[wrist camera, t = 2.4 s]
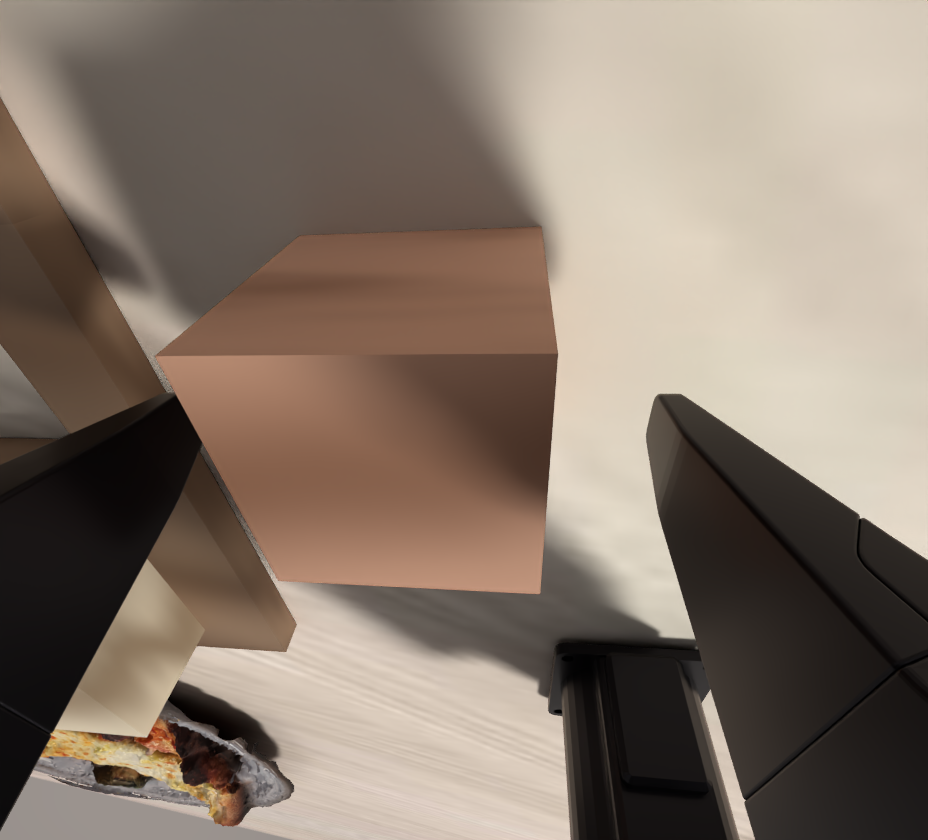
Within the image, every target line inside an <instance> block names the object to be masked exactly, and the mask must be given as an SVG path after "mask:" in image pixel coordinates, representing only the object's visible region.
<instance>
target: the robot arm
mask: <svg viewBox="0 0 928 840" xmlns="http://www.w3.org/2000/svg"><path fill="white" fill-rule="evenodd" d="M646 442H647V448H648V455H649V461H650V467H651V473H652V479H653V485H654V491H655V498H656V503H657V509H658V514H659V518H660V522H661V525H662V529H663V532H664V535H665V539H666V542H667V545H668V549H669V552H670V555H671V559H672V562H673V565H674V569H675V572H676V575H677V579H678V582H679V585H680V589H681V592H682V595H683V599H684V602H685V606H686V609H687V612H688V616H689V619H690V622H691V626H692V629H693V632H694V636H695V639H696V642H697V646H698V649H699V651H690V650H673V649H657V648H641V647H625V646H608V645H592V644H576V643H562V644H558V645H557V646H556V647H555V651H554V658H553V666H552V674H551V682H550V690H549V697H548V711H549V713H551V714H553V715H558V716H563V730H564V745H565V760H566V775H567V790H568V805H569V820H570V835H571V840H740V839H739V835H738V832H737V828H736V825H735V821H734V818H733V814H732V811H731V807H730V803H729V800H728V796H727V793H726V789H725V786H724V782H723V779H722V775H721V772H720V768H719V764H718V761H717V757H716V754H715V750H714V747H713V743H712V740H711V736H710V732H709V729H708V725H707V722H706V718H705V715H704V711H703V708H702V704H701V703H702V701H703V700H704V698H705V697H706V695H707V694H708V692H709V691H710V689H711V692H712V696H713V699H714V702H715V706H716V709H717V712H718V716H719V719H720V722H721V726H722V729H723V732H724V736H725V739H726V742H727V746H728V749H729V752H730V756H731V759H732V762H733V766H734V769H735V772H736V776H737V779H738V782H739V786H740V789H741V792H742V796H743V798H744V799H745V800H746V801H745V807H746V810H747V814H748V817H749V820H750V824H751V827H752V830H753V834H754V837H755V840H928V560H927V559H925V558H924V557H922V556H921V555H919V554H918V553H916V552H915V551H913V550H912V549H910V548H909V547H907V546H905V545H904V544H902V543H901V542H899V541H898V540H896V539H895V538H893V537H892V536H890V535H889V534H887V533H886V532H884V531H883V530H881V529H880V528H878V527H877V526H876V525H874V524H873V523H871V522H870V521H868V520H867V519H865V518H861V519H860V516H859V514H858V513H856V512H855V511H853V510H852V509H850V508H849V507H847V506H846V505H844V504H843V503H841V502H840V501H838V500H837V499H835V498H834V497H832V496H831V495H830V494H828V493H827V492H825V491H824V490H822V489H821V488H819V487H818V486H816V485H815V484H813V483H812V482H810V481H809V480H807V479H806V478H804V477H803V476H802V475H800V474H799V473H797V472H796V471H794V470H793V469H791V468H790V467H788V466H787V465H785V464H784V463H782V462H781V461H779V460H778V459H776V458H775V457H774V456H772V455H771V454H769V453H768V452H766V451H765V450H763V449H762V448H760V447H759V446H757V445H756V444H754V443H753V442H751V441H750V440H748V439H747V438H745V437H744V436H743V435H741V434H740V433H738V432H737V431H735V430H734V429H732V428H731V427H729V426H728V425H726V424H725V423H723V422H722V421H720V420H719V419H717V418H716V417H715V416H713V415H712V414H710V413H709V412H707V411H706V410H704V409H703V408H701V407H700V406H698V405H697V404H695V403H694V402H692V401H691V400H689V399H688V398H687V397H685V396H683V395H682V394H658V395H657V396H656V397H655V399H654V402H653V406H652V410H651V414H650V418H649V423H648V427H647V432H646ZM201 446H202V441H201V439H200V437H199V435H198V434H197V432H196V430H195V428H194V426H193V425H192V423H191V421H190V419H189V417H188V415H187V414H186V412H185V410H184V408H183V406H182V405H181V403H180V401H179V399H178V397H177V395H176V394H175V393H170V392H169V393H162V394H160V395H158V396H155V397H153V398H151V399H148V400H146V401H144V402H142V403H139V404H137V405H135V406H133V407H130V408H128V409H126V410H123V411H121V412H119V413H117V414H114V415H112V416H110V417H108V418H105V419H103V420H101V421H98V422H96V423H94V424H92V425H89V426H87V427H85V428H82V429H80V430H78V431H76V432H73V433H71V434H69V435H67V436H64V437H62V438H60V439H57V440H55V441H53V442H51V443H48V444H46V445H44V446H42V447H39V448H37V449H35V450H32V451H30V452H28V453H26V454H23V455H21V456H19V457H17V458H14V459H12V460H10V461H7V462H5V463H3V464H1V465H0V831H1V829H2V827H3V825H4V823H5V821H6V819H7V818H8V816H9V814H10V812H11V810H12V808H13V807H14V805H15V803H16V801H17V799H18V797H19V795H20V794H21V792H22V790H23V788H24V786H25V784H26V782H27V780H28V779H29V777H30V775H31V773H32V771H33V770H34V768H35V766H36V764H37V762H38V760H39V758H40V757H41V755H42V753H43V751H44V749H45V747H46V746H47V744H48V742H49V740H50V738H51V733H53V732H54V730H55V728H56V726H57V724H58V722H59V721H60V719H61V717H62V715H63V713H64V711H65V710H66V708H67V706H68V704H69V702H70V700H71V698H72V697H73V695H74V693H75V691H76V689H77V687H78V686H79V684H80V682H81V680H82V678H83V676H84V674H85V673H86V671H87V669H88V667H89V665H90V663H91V662H92V660H93V658H94V656H95V654H96V652H97V650H98V649H99V647H100V645H101V643H102V641H103V639H104V638H105V636H106V634H107V632H108V630H109V628H110V626H111V625H112V623H113V621H114V619H115V617H116V615H117V614H118V612H119V610H120V608H121V606H122V604H123V602H124V601H125V599H126V597H127V595H128V593H129V591H130V590H131V588H132V586H133V584H134V582H135V580H136V578H137V577H138V575H139V573H140V571H141V569H142V567H143V566H144V564H145V562H146V560H147V558H148V556H149V555H150V553H151V551H152V549H153V547H154V545H155V543H156V542H157V540H158V538H159V536H160V534H161V532H162V531H163V529H164V527H165V525H166V523H167V521H168V519H169V518H170V516H171V514H172V512H173V510H174V508H175V506H176V504H177V502H178V500H179V498H180V496H181V494H182V492H183V489H184V487H185V485H186V482H187V480H188V477H189V475H190V472H191V470H192V468H193V465H194V463H195V460H196V458H197V455H198V453H199V451H200V448H201Z"/></svg>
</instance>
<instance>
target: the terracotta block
mask: <svg viewBox="0 0 928 840" xmlns="http://www.w3.org/2000/svg"><path fill="white" fill-rule="evenodd" d="M155 357H156V359H157V361H158V363H159V364H160V366H161V368H162V370H163V372H164V374H165V375H166V377H167V379H168V381H169V383H170V385H171V386H172V388H173V390H174V392H175V394H176V395H177V397H178V399H179V401H180V403H181V405H182V406H183V408H184V410H185V412H186V414H187V415H188V417H189V419H190V421H191V423H192V425H193V426H194V428H195V430H196V432H197V434H198V435H199V437H200V439H201V441H202V443H203V445H204V446H205V448H206V450H207V452H208V454H209V456H210V457H211V459H212V461H213V463H214V465H215V466H216V468H217V470H218V472H219V474H220V476H221V477H222V479H223V481H224V483H225V485H226V486H227V488H228V490H229V492H230V494H231V496H232V497H233V499H234V501H235V503H236V505H237V506H238V508H239V510H240V512H241V514H242V516H243V517H244V519H245V521H246V523H247V525H248V526H249V528H250V530H251V532H252V534H253V536H254V537H255V539H256V541H257V543H258V545H259V547H260V548H261V550H262V552H263V554H264V556H265V557H266V559H267V561H268V563H269V565H270V567H271V568H272V570H273V572H274V574H275V576H276V577H277V579H278V581H290V582H310V583H330V584H350V585H369V586H389V587H409V588H428V589H448V590H468V591H487V592H507V593H527V594H540V588H541V575H542V561H543V548H544V534H545V521H546V507H547V494H548V481H549V467H550V454H551V440H552V427H553V413H554V400H555V386H556V373H557V359H558V350H557V342H556V335H555V327H554V319H553V312H552V304H551V296H550V289H549V281H548V273H547V266H546V258H545V250H544V243H543V235H542V227H516V228H489V229H462V230H435V231H408V232H381V233H354V234H327V235H300V236H298V237H297V238H296V239H295V240H294V241H292V242H291V243H290V244H289V245H288V246H286V247H285V248H284V249H283V250H282V251H280V252H279V253H278V254H277V255H276V256H274V257H273V258H272V259H271V260H270V261H268V262H267V263H266V264H265V265H264V266H262V267H261V268H260V269H259V270H258V271H256V272H255V273H254V274H253V275H252V276H250V277H249V278H248V279H247V280H246V281H244V282H243V283H242V284H241V285H240V286H238V287H237V288H236V289H235V290H234V291H232V292H231V293H230V294H229V295H228V296H226V297H225V298H224V299H223V300H222V301H220V302H219V303H218V304H217V305H216V306H214V307H213V308H212V309H211V310H210V311H208V312H207V313H206V314H205V315H204V316H202V317H201V318H200V319H199V320H198V321H196V322H195V323H194V324H193V325H192V326H190V327H189V328H188V329H187V330H186V331H184V332H183V333H182V334H181V335H180V336H178V337H177V338H176V339H175V340H174V341H172V342H171V343H170V344H169V345H168V346H166V347H165V348H164V349H163V350H162V351H160V352H159V353H158V354H157V355H156V356H155Z"/></svg>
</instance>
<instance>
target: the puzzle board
mask: <svg viewBox="0 0 928 840" xmlns="http://www.w3.org/2000/svg"><path fill="white" fill-rule="evenodd" d="M0 344H1V345H2V347H3V348H4V349H5V350H6V352H7V353H8V354H9V356H10V357H11V358H12V360H13V361H14V362H15V363H16V365H17V366H18V367H19V369H20V370H21V371H22V372H23V374H24V375H25V376H26V378H27V379H28V380H29V382H30V383H31V384H32V385H33V387H34V388H35V389H36V391H37V392H38V393H39V394H40V396H41V397H42V398H43V400H44V401H45V402H46V404H47V405H48V406H49V407H50V409H51V410H52V411H53V413H54V414H55V415H56V416H57V418H58V419H59V420H60V422H61V423H62V424H63V426H64V427H65V428H66V429H67V431H68V432H69V433H70V434H71V433H73V432H76V431H78V430H80V429H82V428H85V427H87V426H89V425H92V424H94V423H96V422H98V421H101V420H103V419H105V418H108V417H110V416H112V415H114V414H117V413H119V412H121V411H123V410H126V409H128V408H130V407H133V406H135V405H137V404H139V403H142V402H144V401H146V400H148V399H151V398H153V397H155V396H158V395H160V394H162V393H166V392H165V390H164V388H163V386H162V384H161V383H160V381H159V379H158V377H157V376H156V374H155V372H154V370H153V368H152V367H151V365H150V363H149V361H148V360H147V358H146V356H145V354H144V353H143V351H142V349H141V347H140V345H139V344H138V342H137V340H136V338H135V337H134V335H133V333H132V331H131V329H130V328H129V326H128V324H127V322H126V321H125V319H124V317H123V315H122V313H121V312H120V310H119V308H118V306H117V305H116V303H115V301H114V299H113V297H112V296H111V294H110V292H109V290H108V289H107V287H106V285H105V283H104V281H103V280H102V278H101V276H100V274H99V273H98V271H97V269H96V267H95V265H94V264H93V262H92V260H91V258H90V257H89V255H88V253H87V251H86V250H85V248H84V246H83V244H82V242H81V241H80V239H79V237H78V235H77V234H76V232H75V230H74V228H73V226H72V225H71V223H70V221H69V219H68V218H67V216H66V214H65V212H64V210H63V209H62V207H61V205H60V203H59V202H58V200H57V198H56V196H55V194H54V193H53V191H52V189H51V187H50V186H49V184H48V182H47V180H46V178H45V177H44V175H43V173H42V171H41V170H40V168H39V166H38V164H37V162H36V161H35V159H34V157H33V155H32V154H31V152H30V150H29V148H28V147H27V145H26V143H25V141H24V139H23V138H22V136H21V134H20V132H19V131H18V129H17V127H16V125H15V123H14V122H13V120H12V118H11V116H10V115H9V113H8V111H7V109H6V107H5V106H4V104H3V102H2V100H1V99H0ZM55 440H57V439H30V438H0V465H1V464H3V463H5V462H7V461H10V460H12V459H14V458H17V457H19V456H21V455H23V454H26V453H28V452H30V451H32V450H35V449H37V448H39V447H42V446H44V445H46V444H48V443H51V442H53V441H55ZM296 625H297V624H296V622H295V621H294V619H293V617H292V615H291V614H290V612H289V610H288V608H287V606H286V605H285V603H284V601H283V599H282V598H281V596H280V594H279V592H278V590H277V589H276V587H275V585H274V583H273V582H272V580H271V578H270V576H269V574H268V573H267V571H266V569H265V567H264V566H263V564H262V562H261V560H260V559H259V557H258V555H257V553H256V551H255V550H254V548H253V546H252V544H251V543H250V541H249V539H248V537H247V535H246V534H245V532H244V530H243V528H242V527H241V525H240V523H239V521H238V519H237V518H236V516H235V514H234V512H233V511H232V509H231V507H230V505H229V503H228V502H227V500H226V498H225V496H224V495H223V493H222V491H221V489H220V487H219V486H218V484H217V482H216V480H215V479H214V477H213V475H212V473H211V471H210V470H209V468H208V466H207V464H206V463H205V461H204V459H203V457H202V456H201V454H200V452H199V453H198V455H197V458H196V460H195V463H194V465H193V468H192V470H191V472H190V475H189V477H188V480H187V482H186V485H185V487H184V489H183V492H182V494H181V496H180V498H179V500H178V502H177V504H176V506H175V508H174V510H173V512H172V514H171V516H170V518H169V519H168V521H167V523H166V525H165V527H164V529H163V531H162V532H161V534H160V536H159V538H158V540H157V542H156V543H155V545H154V547H153V549H152V551H151V553H150V555H149V556H148V558H147V560H146V562H145V564H144V566H143V567H142V569H141V571H140V573H139V575H138V577H137V578H136V580H135V582H134V584H133V586H132V588H131V590H130V591H129V593H128V595H127V597H126V599H125V601H124V602H123V604H122V606H121V608H120V610H119V612H118V614H117V615H116V617H115V619H114V621H113V623H112V625H111V626H110V628H109V630H108V632H107V634H106V636H105V638H104V639H103V641H102V643H101V645H100V647H99V649H98V650H97V652H96V654H95V656H94V658H93V660H92V662H91V663H90V665H89V667H88V669H87V671H86V673H85V674H84V676H83V678H82V680H81V682H80V684H79V686H78V687H77V689H76V691H75V693H74V695H73V697H72V698H71V700H70V702H69V704H68V706H67V708H66V710H65V711H64V713H63V715H62V717H61V719H60V721H59V722H58V724H57V726H56V728H55V729H60V730H70V731H81V732H92V733H103V734H113V735H124V736H135V737H146V738H147V736H148V734H149V733H150V731H151V729H152V727H153V725H154V723H155V722H156V720H157V718H158V716H159V714H160V712H161V711H162V709H163V707H164V705H165V703H166V701H167V699H168V698H169V696H170V694H171V692H172V690H173V688H174V687H175V685H176V683H177V681H178V679H179V677H180V676H181V674H182V672H183V670H184V668H185V666H186V665H187V663H188V661H189V659H190V657H191V655H192V653H193V652H194V650H195V648H196V646H205V647H220V648H234V649H249V650H264V651H278V652H286V651H287V648H288V646H289V643H290V640H291V638H292V635H293V633H294V630H295V628H296Z"/></svg>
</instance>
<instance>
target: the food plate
mask: <svg viewBox="0 0 928 840" xmlns="http://www.w3.org/2000/svg"><path fill="white" fill-rule="evenodd" d="M186 714H187V713H186ZM186 714H184V713H183V712H182V711H181V710H179V709H178V708H176V707H175V706H174V705H173V704H171V703H170V702H169V700H167V701H166V703H165V705H164V707H163V709H162V711H161V712H160V714H159V716H158V718H157V720H156V722H155V723H154V725H153V727H152V729H151V731H150V733H149V734H148V736H147V738H146V737H135V736H124V735H113V734H103V733H92V732H81V731H70V730H60V729H55V730H54V732H53V733H51V738H50V740H49V742H48V744H47V746H46V747H45V749H44V751H43V753H42V755H41V757H40V758H39V760H38V762H37V764H36V766H35V768H34V770H35V771H39V772H42V773H46V774H49V775H52V776H57V777H58V778H59V777H63V778H65V779H66V780H70V781H75V782H77V784H75V783H72V782H68V781H65V780H62V779H58V778H55V777H52V776H50V777H52V778H54V779H56V780H58V781H60V782H62V783H66V784H68V785H71V786H75V787H80V788H83V789H86V790H91V791H95V792H102V793H105V794H111V793H112V794H114V795H120V796H128V797H136V798H143V797H146V798H144V799H153V800H160V799H163V801H167V802H172V803H177V804H183V805H193V806H199V807H200V806H204V807H208V808H209V809H210V811H209V813H208V815H209V816H211V817H212V818H214V822H215V824H221V825H222V826H235V825H238V824H239V823H240V822H241V821H242V820H243V818H244V817H245V815H246V814H247V813H248V812H249V810H250V809H251V808H253V807H258V806H260V807H264V806H265V807H269V806H272V805H273V804H276V803H279V802H281V801H282V800H286V799H288V798H290V796H291V793H292V792H294V791H293V790H294V785H293V784H291V783H292V782H291V781H290V780H289V779H287V778H285V776H283V775H282V773H281V772H280V771H279V769H278V767H277V766H278V765H277V764H276V763H277V762H275V761H268V760H267V759H266V755H265V756H263V755H261V754H259V753H258V752H257V753H256V752H255V751H256V750H255V749H256V748H255V746H256V745H258V743H259V742H257V743H255V744H254V747H253V751H252V754H250V753H248V752H247V745H248V744H247V743H246V742H245V740H242V738H241V737H240V738H237V739H235V740H231V741H228V740H222V739H221V738H219V737H218V734H219V729H216V728H215V727H214V726H213V725H207V724H201V723H198V722H196V721H195V722H194V721H192V720H190V719H189V718H187V717H186V716H185V715H186ZM49 775H48V776H49ZM78 783H81V784H86V785H88V786H87V787H86V786H83V785H78ZM89 786H92V787H89ZM133 792H134V793H136V794H140V796H138V795H134V794H132V793H133ZM147 796H150V797H151V798H147ZM156 798H157V799H156Z"/></svg>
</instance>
